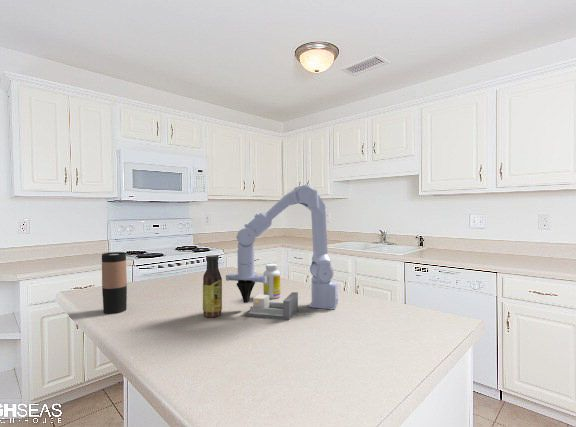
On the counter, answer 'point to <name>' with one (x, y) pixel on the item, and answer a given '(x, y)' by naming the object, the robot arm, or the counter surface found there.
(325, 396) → the counter surface
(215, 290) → the sauce bottle
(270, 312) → the board
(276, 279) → the supplement bottle
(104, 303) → the travel mug
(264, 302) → the block
